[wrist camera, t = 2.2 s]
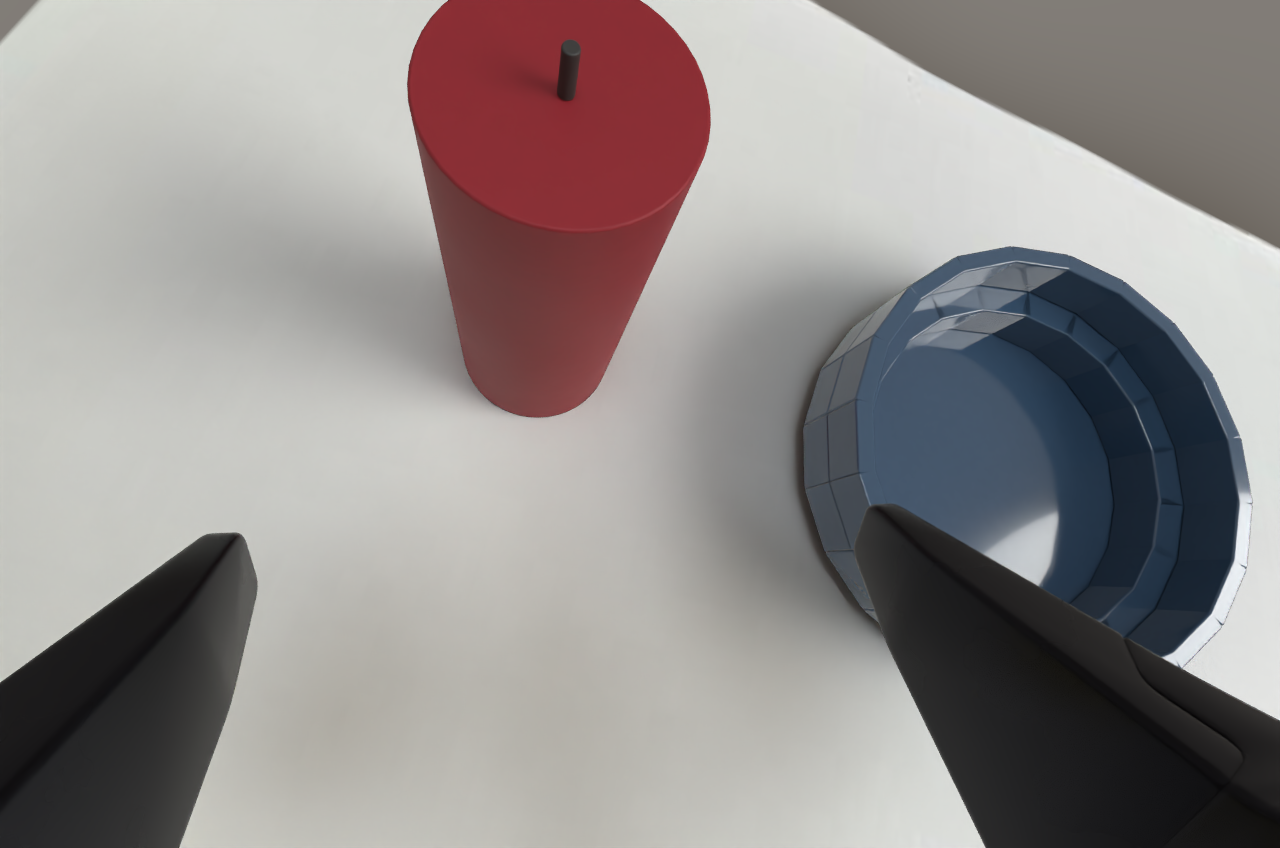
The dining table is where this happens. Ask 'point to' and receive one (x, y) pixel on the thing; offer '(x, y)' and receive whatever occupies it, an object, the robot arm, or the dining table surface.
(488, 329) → the candle
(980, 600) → the robot arm
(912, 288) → the bowl
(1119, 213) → the dining table surface
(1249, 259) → the dining table surface
